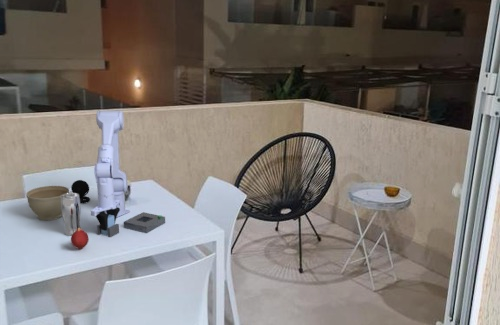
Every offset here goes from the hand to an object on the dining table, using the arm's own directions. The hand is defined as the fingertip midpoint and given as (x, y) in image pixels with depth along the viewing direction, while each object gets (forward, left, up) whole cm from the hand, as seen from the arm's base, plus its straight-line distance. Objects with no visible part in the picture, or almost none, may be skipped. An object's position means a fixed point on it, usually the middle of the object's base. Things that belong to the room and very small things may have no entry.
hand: (108, 228), depth 179 cm
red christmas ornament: (+1, -15, -2) cm, 15 cm away
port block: (+7, +13, -2) cm, 15 cm away
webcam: (-36, +22, -2) cm, 42 cm away
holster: (0, 0, -2) cm, 2 cm away
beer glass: (-12, -6, -2) cm, 14 cm away
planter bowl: (-33, +2, -2) cm, 33 cm away
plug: (0, 0, -2) cm, 2 cm away
